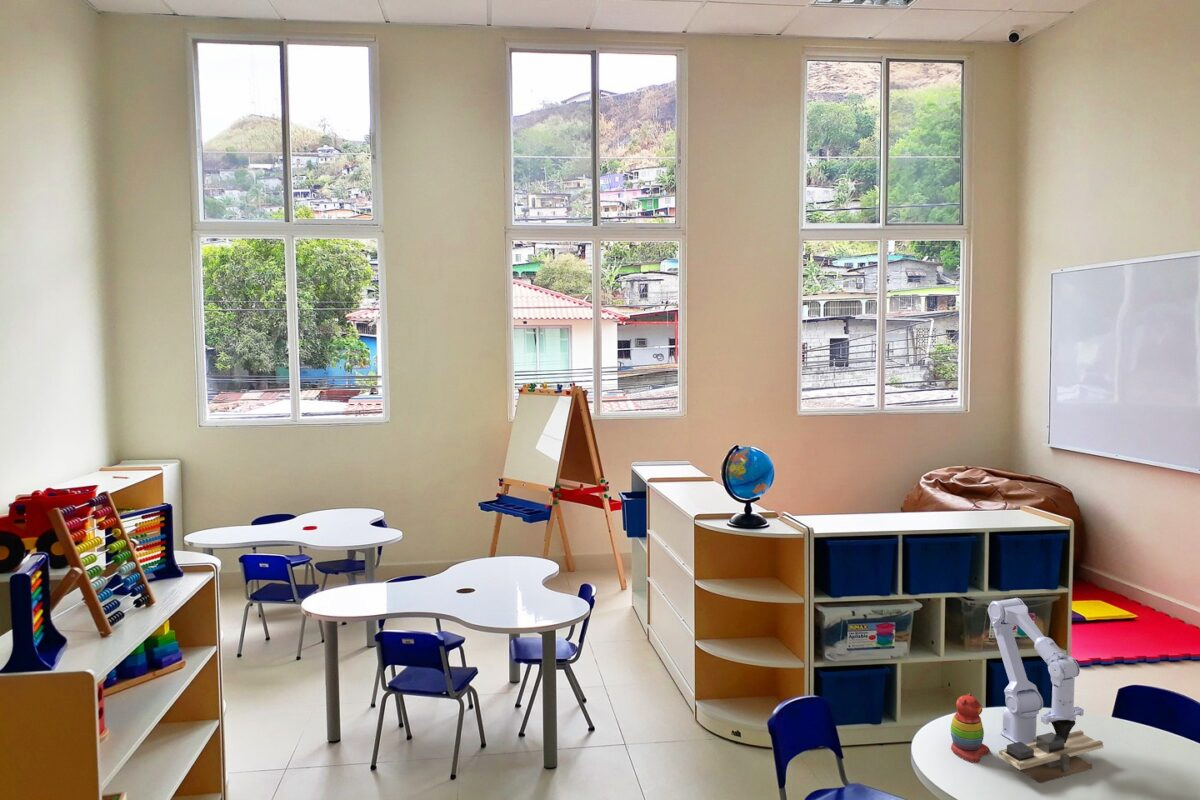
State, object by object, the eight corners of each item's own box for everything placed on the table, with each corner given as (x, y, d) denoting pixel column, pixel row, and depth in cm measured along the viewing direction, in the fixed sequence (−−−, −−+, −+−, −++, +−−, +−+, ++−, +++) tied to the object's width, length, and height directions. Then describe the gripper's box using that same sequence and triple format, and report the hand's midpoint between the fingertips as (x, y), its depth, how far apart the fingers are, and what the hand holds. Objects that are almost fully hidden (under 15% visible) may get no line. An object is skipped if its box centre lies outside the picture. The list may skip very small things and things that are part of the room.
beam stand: (1009, 764, 255) (1010, 745, 254) (1060, 750, 262) (1061, 732, 261) (1040, 783, 245) (1040, 763, 244) (1092, 768, 251) (1092, 749, 251)
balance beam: (998, 756, 251) (998, 750, 251) (1079, 735, 262) (1080, 730, 262) (1020, 769, 244) (1020, 763, 244) (1103, 747, 254) (1103, 742, 254)
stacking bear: (976, 764, 256) (977, 708, 254) (943, 752, 263) (944, 697, 261) (992, 751, 263) (993, 696, 261) (960, 739, 270) (961, 686, 268)
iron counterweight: (1006, 754, 250) (1006, 744, 250) (1019, 751, 252) (1020, 741, 252) (1020, 762, 246) (1020, 753, 245) (1033, 759, 247) (1033, 749, 247)
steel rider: (1036, 747, 254) (1036, 736, 254) (1051, 743, 256) (1052, 732, 256) (1048, 754, 250) (1048, 743, 249) (1064, 750, 252) (1064, 739, 251)
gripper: (1055, 708, 246) (1054, 753, 248) (1093, 699, 251) (1091, 743, 253) (1035, 698, 253) (1034, 741, 254) (1072, 689, 258) (1071, 732, 259)
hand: (1061, 741), depth 254 cm, fingers closed
